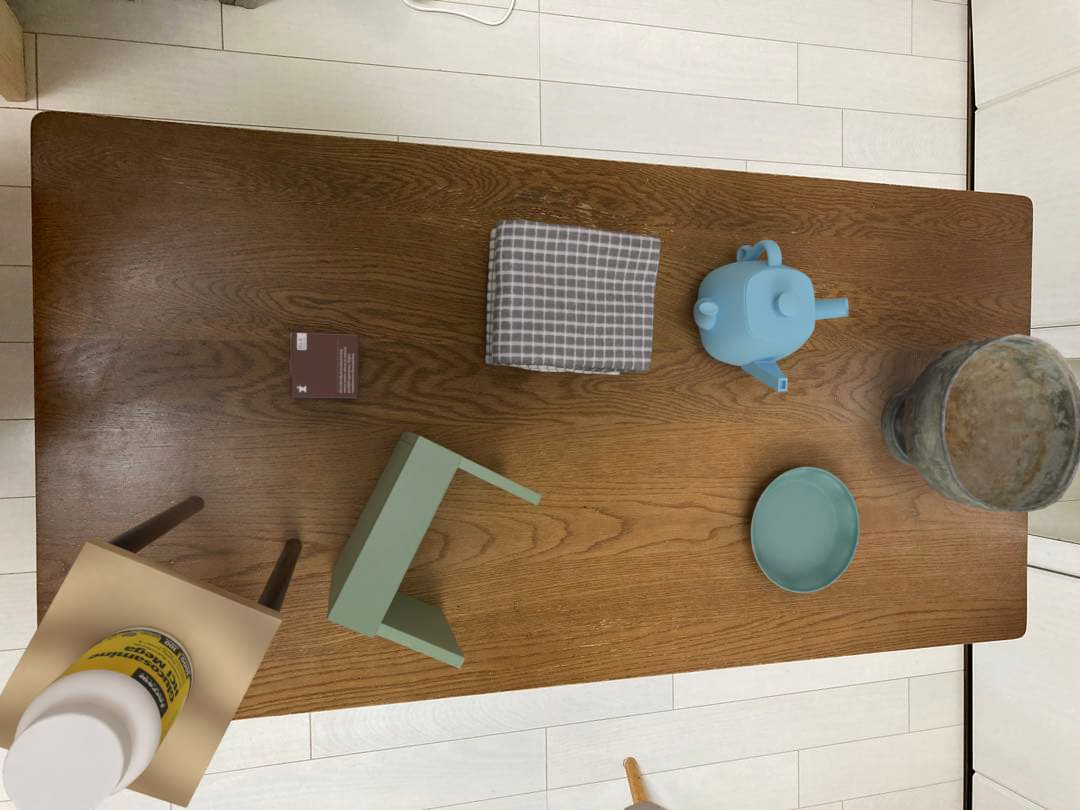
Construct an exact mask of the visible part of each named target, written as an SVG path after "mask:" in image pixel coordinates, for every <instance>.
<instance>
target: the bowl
mask: <svg viewBox="0 0 1080 810" xmlns="http://www.w3.org/2000/svg"><path fill="white" fill-rule="evenodd" d="M881 433H882V438H883V442H884V444H885V447H886V449H887V450H888V452H889V453H890V454H891V456H892V457H894V458H895V459H896V460H897V461H898V462H900V463H901V464H903V465H906V466H909V467H914V468H915V469H916V471H917V472H918V474H919V476H920V477H921V478H922V480H923V481H924V482H925V484H926V485H927V486H928V487H929V488H930V489H932V490H933V491H934V492H936V493H937V494H938V495H940V496H941V497H942V498H944V499H946V500H948V501H952V502H956V503H958V504H960V505H963V506H967V507H969V508H970V507H971V508H973V509H979V510H984V511H990V512H1005V513H1031V512H1035V511H1038V510H1044V509H1046V508H1048V507H1050V506H1052V505H1054V504H1056V503H1057V502H1058V501H1060V499H1062V498H1063V496H1064V495H1065V494H1066V493H1067V491H1068V489H1069V487H1070V486H1071V485H1072V482H1073V480H1074V478H1075V475H1076V473H1077V471H1078V468H1079V465H1080V383H1079V379H1078V377H1077V375H1076V373H1075V371H1074V369H1073V367H1072V366H1071V364H1070V363H1069V362H1068V360H1067V358H1065V357H1064V355H1063V354H1062V353H1061V352H1060V350H1059V349H1057V348H1055V347H1054V346H1053V345H1051V344H1050V343H1048V342H1047V341H1045V340H1043V339H1041V338H1039V337H1034V336H1031V335H1026V334H1021V333H1017V334H1008V335H1004V336H1000V337H994V338H992V337H987V338H985V339H974V338H973V339H970V340H967V341H965V342H962V343H960V344H958V345H956V346H953V347H951V348H948V349H945V350H943V352H941V353H939V354H938V355H937V356H936V357H935V358H934V359H933V360H932V361H931V362H930V363H928V364H927V365H926V366H925V368H924V369H923V370H922V372H921V373H920V374H919V376H918V377H916V380H915V381H914V382H913V384H912V385H911V386H908V387H905V388H903V389H901V390H899V391H898V392H896V393H895V394H894V395H893V396H892V397H891V398H890V400H889V401H888V403H887V405H886V407H885V410H884V411H883V414H882V418H881Z"/></svg>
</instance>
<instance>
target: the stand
mask: <svg viewBox="0 0 1080 810" xmlns="http://www.w3.org/2000/svg"><path fill="white" fill-rule="evenodd" d="M284 617H285V613H283V612H282V611H280V612H278V611H276V610H273V609H271V608H268V607H266V606H263V605H261V604H258V602H255V601H253V600H251V599H248V598H245V597H243V596H241V595H238V594H237V593H233V592H232V591H228V590H226V589H223V588H222V587H219V586H216V585H213V584H211V583H209V582H206V581H203V580H201V579H198V578H196V577H193V576H191V575H189V574H186V573H184V572H181V571H180V570H177V569H174V568H173V567H172V568H171V567H169V566H168V565H167V566H166V565H164V564H163V563H159V562H157V561H155V560H151V559H149V558H147V557H144V556H142V555H139V554H137V553H136V554H134V553H132V552H130V551H127V550H125V549H122V548H120V547H117V546H115V545H112V544H110V543H107V541H106V540H102V539H99V538H98V537H93V538H91V539H89V540H87V541H85V543H84V545H83V546H82V547H81V550H80V551H79V553H78V555H77V557H76V558H75V560H74V562H73V564H72V566H71V567H70V569H69V571H68V572H67V574H66V577H65V578H64V580H63V582H62V584H61V585H60V587H59V589H58V591H57V592H56V594H55V596H54V597H53V600H52V602H51V603H50V605H49V607H48V609H47V610H46V612H45V614H44V616H43V617H42V619H41V622H40V623H39V625H38V626H37V629H36V630H35V632H34V634H33V636H32V637H31V639H30V641H29V643H28V645H27V646H26V648H25V650H24V652H23V654H22V655H21V656H20V659H19V661H18V662H17V664H16V666H15V667H14V669H13V671H12V673H11V675H10V676H9V678H8V680H7V682H6V684H5V686H4V687H3V689H2V691H1V693H0V748H1V749H4V750H7V751H9V749H10V747H11V745H12V744H13V742H14V739H15V734H16V730H17V727H18V724H19V722H20V720H21V718H22V716H23V714H24V712H25V711H26V709H27V708H28V706H29V705H30V704H31V702H32V701H33V700H34V699H35V698H36V697H37V695H38V694H39V693H40V692H42V691H43V690H44V689H45V688H46V687H47V686H48V685H50V684H51V683H52V682H53V681H54V680H55V679H56V678H57V677H59V676H60V675H61V674H62V673H63V672H64V671H65V670H66V669H68V668H69V667H70V666H71V665H72V664H73V663H74V662H76V661H77V660H78V659H79V658H80V657H81V656H82V655H84V654H85V653H86V652H87V651H88V650H89V649H91V648H92V647H93V646H94V645H95V644H96V643H98V642H99V641H101V640H102V639H104V638H105V637H107V636H109V635H111V634H113V633H115V632H118V631H121V630H125V629H129V628H136V627H144V628H152V629H156V630H159V631H162V632H165V633H167V634H169V635H170V636H172V637H173V638H175V639H176V640H177V641H178V642H179V643H180V644H181V645H182V646H183V647H184V648H185V650H186V652H187V653H188V655H189V657H190V660H191V664H192V668H193V682H192V687H191V691H190V694H189V696H188V699H187V701H186V703H185V705H184V706H183V708H182V710H181V712H180V713H179V715H178V717H177V719H176V720H175V722H174V723H173V725H172V727H171V728H170V730H169V732H168V733H167V735H166V737H165V738H164V740H163V742H162V743H161V745H160V747H159V749H158V750H157V752H156V754H155V755H154V757H153V759H152V760H151V762H150V763H149V765H148V766H147V767H146V769H145V770H144V771H143V772H142V773H141V774H140V775H139V776H138V777H137V778H136V779H135V780H134V781H133V782H132V783H131V784H129V785H128V786H127V787H125V788H124V789H127V790H129V791H132V792H136V793H139V794H143V795H145V796H147V797H150V798H153V799H156V800H160V801H163V802H166V803H170V804H171V805H175V806H178V807H181V808H185V809H186V808H188V807H189V805H190V802H191V801H192V799H193V797H194V795H195V793H196V791H197V789H198V787H199V785H200V783H201V781H202V779H203V777H204V775H205V773H206V771H207V770H208V767H209V765H210V764H211V761H212V760H213V757H214V756H215V754H216V752H217V749H218V748H219V746H220V744H221V742H222V740H223V738H224V736H225V734H226V732H227V730H228V728H229V726H230V724H231V722H233V719H234V717H235V715H236V714H237V711H238V709H239V707H240V705H241V703H242V701H243V700H244V698H245V695H246V694H247V691H248V689H249V688H250V685H251V684H252V683H253V680H254V678H255V675H256V673H257V672H258V670H259V668H260V666H261V664H262V662H263V660H264V658H265V657H266V655H267V653H268V650H269V648H270V647H271V645H272V643H273V641H274V639H275V637H276V635H277V632H278V631H279V629H280V627H281V625H282V623H283V620H284Z"/></svg>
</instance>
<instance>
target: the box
mask: <svg viewBox="0 0 1080 810" xmlns="http://www.w3.org/2000/svg"><path fill="white" fill-rule="evenodd" d="M359 340H360V339H359V335H358V334H352V333H351V334H350V333H326V332H325V333H322V332H321V333H320V332H303V331H302V332H300V331H291V332H290V344H289V345H290V351H289V352H290V354H289V355H290V360H289V397H290V399H294V400H296V401H323V402H324V401H327V402H328V401H329V402H330V401H332V402H334V401H335V402H336V401H337V402H338V401H339V402H340V401H341V402H342V401H344V402H347V401H357V400H358V398H359V383H360V378H359V377H360V376H359V374H360V372H359V371H360V344H359Z"/></svg>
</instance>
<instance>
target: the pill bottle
mask: <svg viewBox="0 0 1080 810" xmlns="http://www.w3.org/2000/svg"><path fill="white" fill-rule="evenodd" d="M192 682H193V668H192V664H191V660H190V657H189V655H188V653H187V652H186V650H185V648H184V647H183V646H182V645H181V644H180V643H179V642H178V641H177V640H176V639H175V638H173V637H172V636H170V635H169V634H167V633H165V632H162V631H159V630H156V629H152V628H144V627H136V628H129V629H125V630H121V631H118V632H115V633H113V634H111V635H109V636H107V637H105V638H104V639H102V640H101V641H99V642H98V643H96V644H95V645H94V646H93V647H92V648H91V649H89V650H88V651H87V652H86V653H85V654H84V655H82V656H81V657H80V658H79V659H78V660H77V661H76V662H74V663H73V664H72V665H71V666H70V667H69V668H68V669H66V670H65V671H64V672H63V673H62V674H61V675H60V676H59V677H57V678H56V679H55V680H54V681H53V682H52V683H51V684H50V685H48V686H47V687H46V688H45V689H44V690H43V691H42V692H40V693H39V694H38V695H37V697H36V698H35V699H34V700H33V701H32V702H31V704H30V705H29V706H28V708H27V709H26V711H25V712H24V714H23V716H22V718H21V720H20V722H19V724H18V727H17V730H16V734H15V739H14V742H13V744H12V745H11V747H10V749H9V750H7V753H6V755H5V758H4V761H3V766H2V783H3V787H4V791H5V792H6V795H7V797H8V799H9V800H10V801H11V802H12V804H14V806H15V807H16V808H17V809H18V810H95V809H98V808H99V807H100V806H101V805H102V804H103V803H104V802H106V800H108V798H109V797H111V796H113V795H115V794H117V793H119V792H121V791H122V790H124V789H126V788H125V787H127V786H128V785H129V784H131V783H132V782H133V781H134V780H135V779H136V778H137V777H138V776H139V775H140V774H141V773H142V772H143V771H144V770H145V769H146V767H147V766H148V765H149V763H150V762H151V760H152V759H153V757H154V755H155V754H156V752H157V750H158V749H159V747H160V745H161V743H162V742H163V740H164V738H165V737H166V735H167V733H168V732H169V730H170V728H171V727H172V725H173V723H174V722H175V720H176V719H177V717H178V715H179V713H180V712H181V710H182V708H183V706H184V705H185V703H186V701H187V699H188V696H189V694H190V691H191V687H192Z"/></svg>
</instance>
